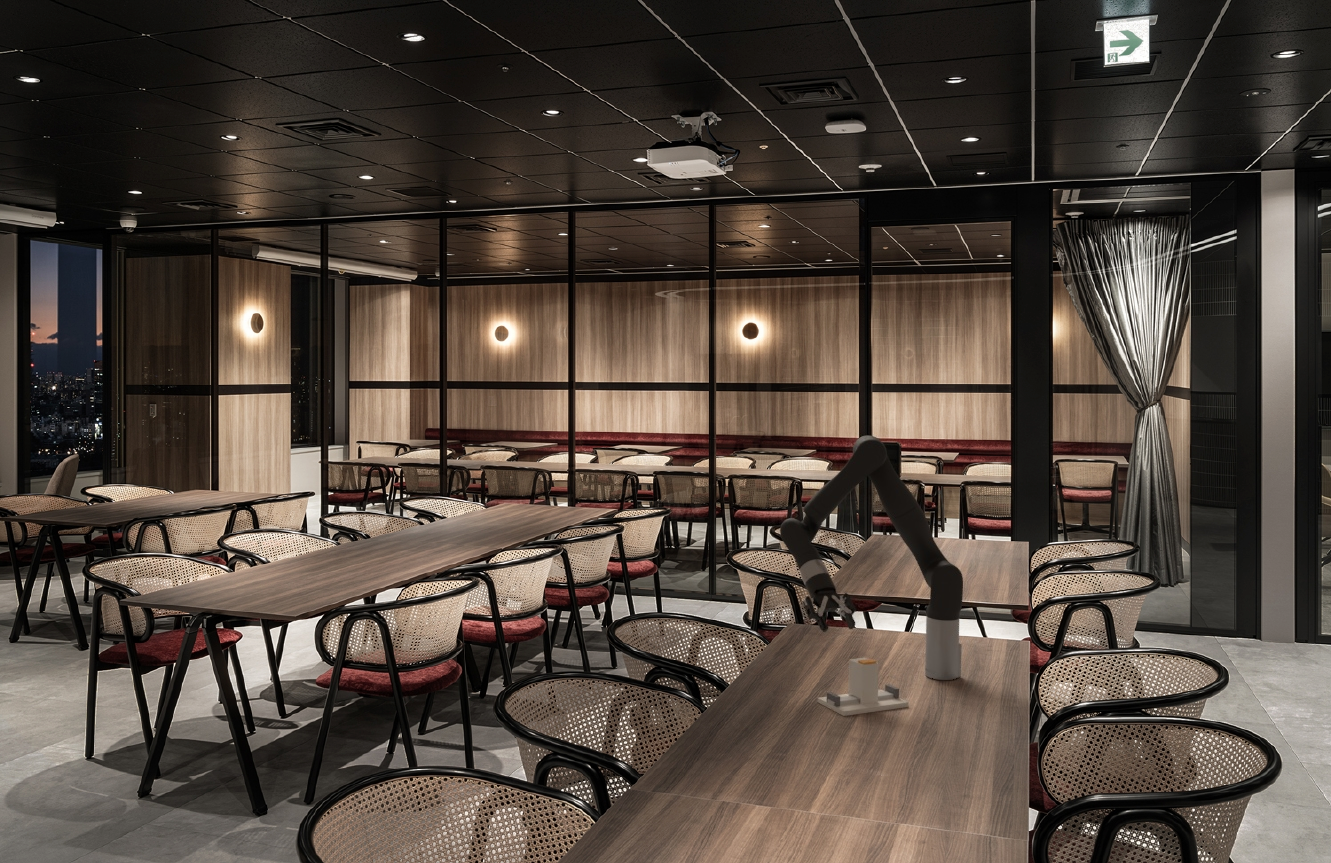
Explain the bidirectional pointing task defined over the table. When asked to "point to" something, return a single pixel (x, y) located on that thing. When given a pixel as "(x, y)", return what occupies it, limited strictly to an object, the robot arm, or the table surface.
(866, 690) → the rail module
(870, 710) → the mounting board
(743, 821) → the table surface
